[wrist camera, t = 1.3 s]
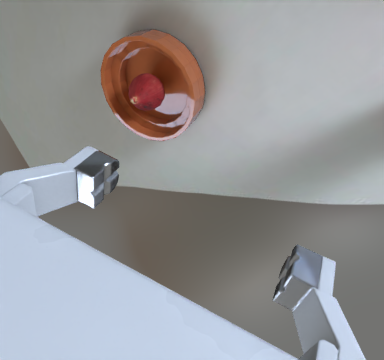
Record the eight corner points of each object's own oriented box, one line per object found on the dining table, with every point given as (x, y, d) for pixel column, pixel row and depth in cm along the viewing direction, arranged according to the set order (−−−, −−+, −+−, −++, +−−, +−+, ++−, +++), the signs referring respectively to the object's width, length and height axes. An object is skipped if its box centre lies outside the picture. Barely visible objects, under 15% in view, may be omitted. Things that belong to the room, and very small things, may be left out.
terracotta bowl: (104, 33, 55) (87, 40, 52) (197, 24, 48) (184, 32, 44) (130, 126, 65) (117, 137, 61) (211, 131, 57) (201, 144, 54)
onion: (179, 91, 55) (155, 111, 49) (156, 105, 59) (132, 125, 53) (159, 61, 53) (133, 77, 47) (137, 77, 57) (110, 94, 51)
